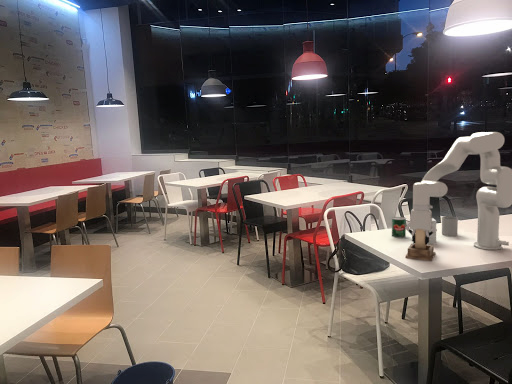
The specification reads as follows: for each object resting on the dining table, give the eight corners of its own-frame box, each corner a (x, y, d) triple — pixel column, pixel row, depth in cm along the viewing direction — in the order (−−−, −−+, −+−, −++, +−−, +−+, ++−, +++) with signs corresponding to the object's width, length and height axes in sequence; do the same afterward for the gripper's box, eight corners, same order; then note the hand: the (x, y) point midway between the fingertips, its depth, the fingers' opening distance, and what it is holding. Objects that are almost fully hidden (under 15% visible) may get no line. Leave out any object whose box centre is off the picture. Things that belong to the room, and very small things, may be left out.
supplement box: (436, 243, 217) (436, 220, 215) (422, 243, 218) (422, 220, 217) (433, 239, 224) (433, 217, 222) (419, 239, 226) (419, 218, 224)
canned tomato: (396, 238, 231) (396, 219, 229) (389, 235, 238) (389, 217, 237) (408, 236, 232) (408, 218, 231) (400, 233, 240) (400, 216, 238)
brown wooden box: (435, 253, 198) (435, 245, 198) (431, 260, 188) (431, 251, 188) (410, 251, 205) (410, 242, 204) (405, 257, 195) (405, 248, 194)
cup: (460, 235, 231) (461, 218, 229) (450, 236, 228) (450, 220, 226) (448, 232, 239) (449, 215, 237) (438, 233, 236) (438, 217, 234)
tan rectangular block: (426, 247, 197) (426, 227, 195) (424, 249, 192) (425, 229, 191) (416, 246, 199) (416, 226, 198) (414, 248, 195) (414, 229, 194)
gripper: (441, 207, 192) (440, 243, 194) (404, 205, 201) (404, 240, 203) (438, 210, 185) (438, 247, 188) (401, 207, 194) (400, 243, 197)
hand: (420, 243), depth 195 cm, fingers closed on tan rectangular block, 5 cm apart
